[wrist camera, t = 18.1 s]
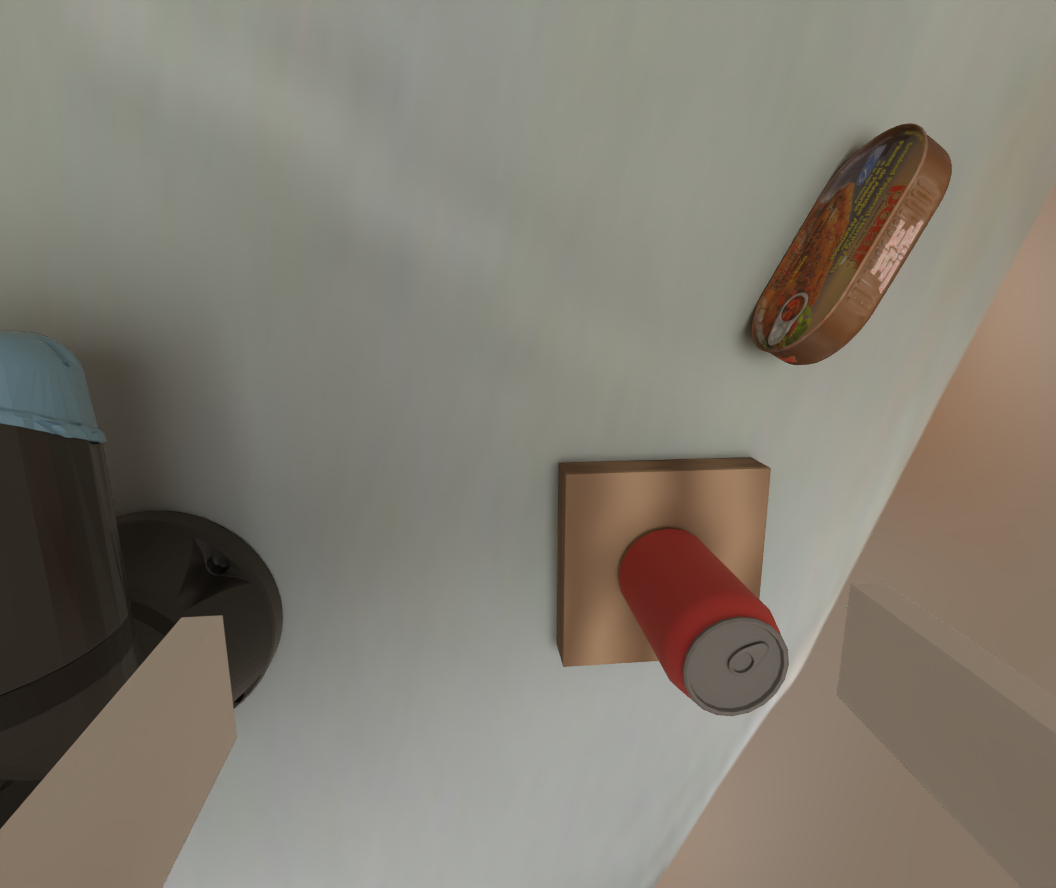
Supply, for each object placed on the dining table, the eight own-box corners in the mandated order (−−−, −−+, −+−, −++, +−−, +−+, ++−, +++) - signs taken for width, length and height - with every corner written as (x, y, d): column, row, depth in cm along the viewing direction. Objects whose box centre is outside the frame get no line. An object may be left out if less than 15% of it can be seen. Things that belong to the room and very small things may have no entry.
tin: (852, 138, 42) (948, 100, 34) (889, 164, 42) (992, 133, 34) (731, 342, 44) (794, 353, 36) (768, 364, 45) (837, 380, 36)
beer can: (726, 576, 45) (822, 675, 33) (650, 631, 45) (717, 749, 33) (676, 506, 43) (758, 584, 31) (597, 563, 43) (649, 662, 32)
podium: (556, 644, 48) (563, 666, 45) (558, 462, 44) (565, 474, 42) (736, 633, 49) (754, 654, 46) (750, 457, 46) (770, 468, 43)
